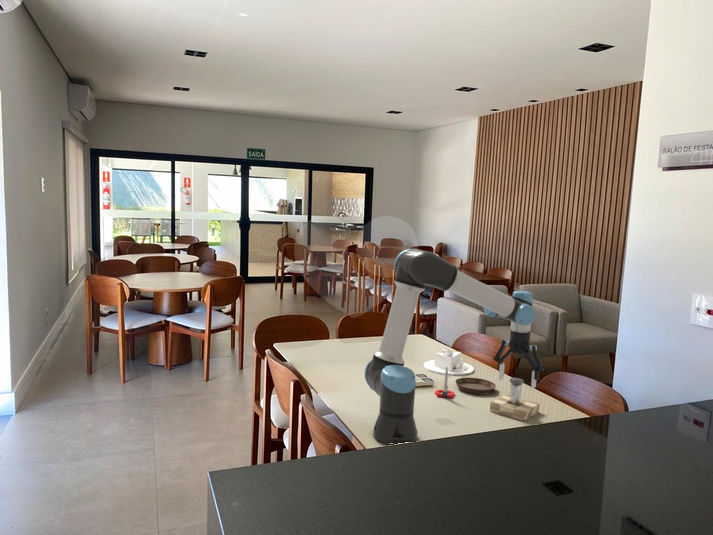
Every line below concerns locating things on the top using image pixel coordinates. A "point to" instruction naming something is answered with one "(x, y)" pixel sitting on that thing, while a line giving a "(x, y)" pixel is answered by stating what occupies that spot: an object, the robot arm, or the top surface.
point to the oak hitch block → (514, 408)
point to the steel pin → (515, 391)
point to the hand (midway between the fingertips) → (517, 383)
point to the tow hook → (445, 388)
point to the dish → (448, 363)
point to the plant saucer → (475, 385)
